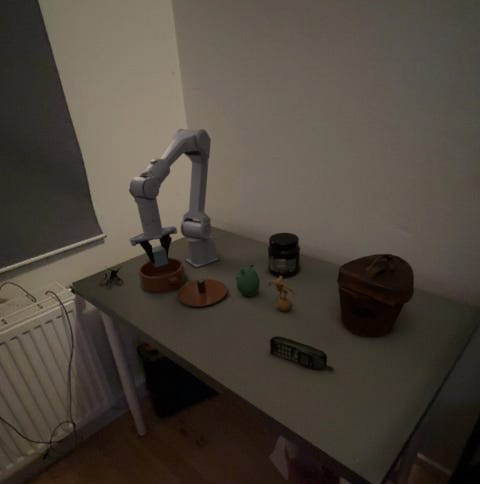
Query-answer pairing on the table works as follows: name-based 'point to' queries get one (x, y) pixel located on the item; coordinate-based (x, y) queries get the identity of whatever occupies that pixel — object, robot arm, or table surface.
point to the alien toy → (247, 281)
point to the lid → (202, 293)
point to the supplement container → (283, 254)
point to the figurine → (283, 302)
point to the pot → (162, 276)
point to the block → (159, 256)
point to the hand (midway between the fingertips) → (159, 260)
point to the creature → (112, 276)
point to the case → (374, 293)
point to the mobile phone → (299, 353)
